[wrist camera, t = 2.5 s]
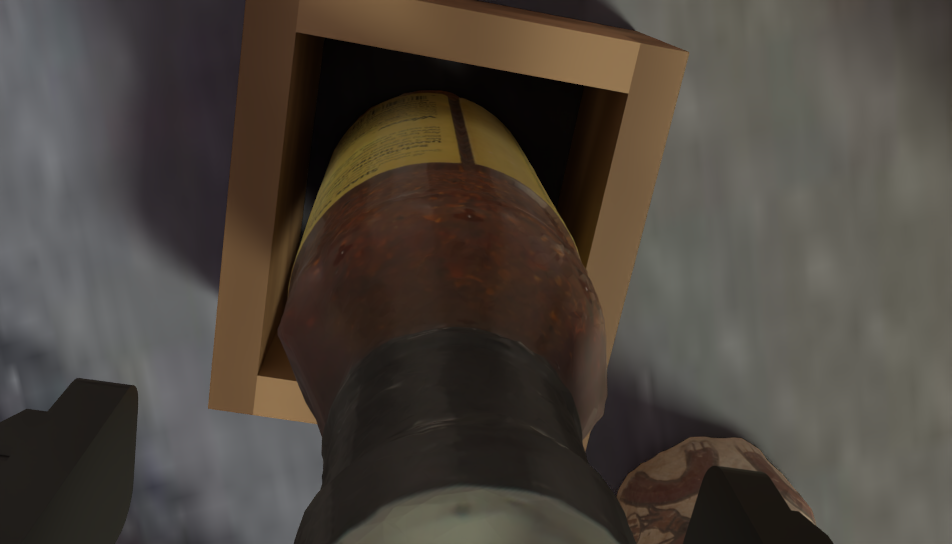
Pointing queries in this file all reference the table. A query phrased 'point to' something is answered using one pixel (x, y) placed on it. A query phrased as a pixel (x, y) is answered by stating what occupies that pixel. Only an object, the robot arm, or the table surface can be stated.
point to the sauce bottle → (446, 341)
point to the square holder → (445, 37)
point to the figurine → (689, 486)
